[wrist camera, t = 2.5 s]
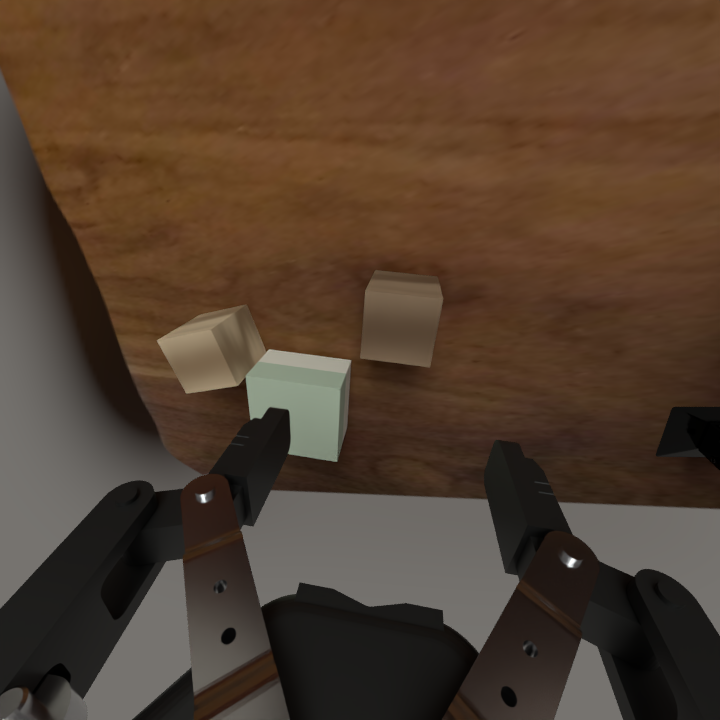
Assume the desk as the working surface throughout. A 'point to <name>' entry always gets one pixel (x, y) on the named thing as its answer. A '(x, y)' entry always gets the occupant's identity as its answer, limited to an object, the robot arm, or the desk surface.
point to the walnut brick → (401, 318)
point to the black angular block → (692, 434)
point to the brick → (214, 349)
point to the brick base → (304, 399)
